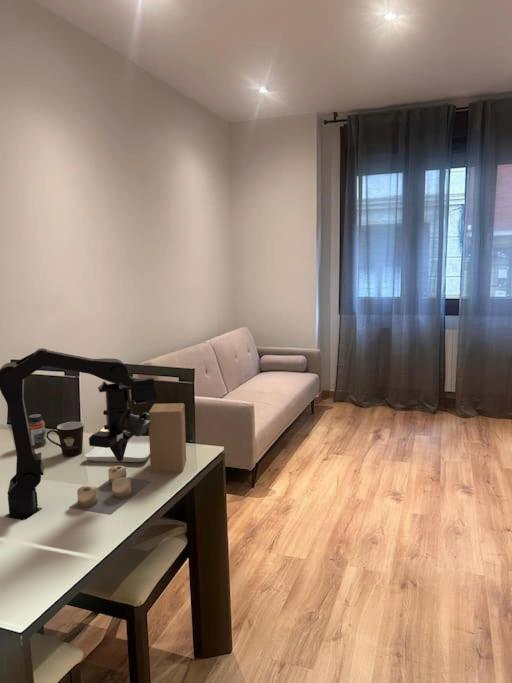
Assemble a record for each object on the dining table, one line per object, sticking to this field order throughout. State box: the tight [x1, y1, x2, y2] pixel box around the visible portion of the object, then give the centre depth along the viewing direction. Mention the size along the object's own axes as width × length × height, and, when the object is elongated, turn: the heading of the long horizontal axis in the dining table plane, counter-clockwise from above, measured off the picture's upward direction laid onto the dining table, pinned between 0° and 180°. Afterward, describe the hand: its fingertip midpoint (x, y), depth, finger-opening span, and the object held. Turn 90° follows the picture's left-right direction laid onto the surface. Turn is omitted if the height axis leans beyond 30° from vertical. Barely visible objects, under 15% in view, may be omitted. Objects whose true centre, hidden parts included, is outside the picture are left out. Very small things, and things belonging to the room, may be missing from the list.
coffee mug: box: [45, 421, 85, 458], centre depth 168 cm, size 12×9×10 cm
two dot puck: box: [107, 465, 127, 485], centre depth 143 cm, size 5×5×4 cm
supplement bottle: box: [28, 413, 47, 449], centre depth 176 cm, size 6×6×11 cm
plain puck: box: [112, 477, 131, 499], centre depth 135 cm, size 5×5×4 cm
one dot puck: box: [76, 484, 98, 508], centre depth 130 cm, size 5×5×4 cm
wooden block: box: [147, 402, 187, 474], centre depth 154 cm, size 10×10×20 cm
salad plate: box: [84, 435, 150, 463], centre depth 167 cm, size 21×21×3 cm
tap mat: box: [68, 477, 153, 516], centre depth 136 cm, size 21×13×1 cm, turn 162°
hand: (120, 460), depth 134 cm, fingers closed
